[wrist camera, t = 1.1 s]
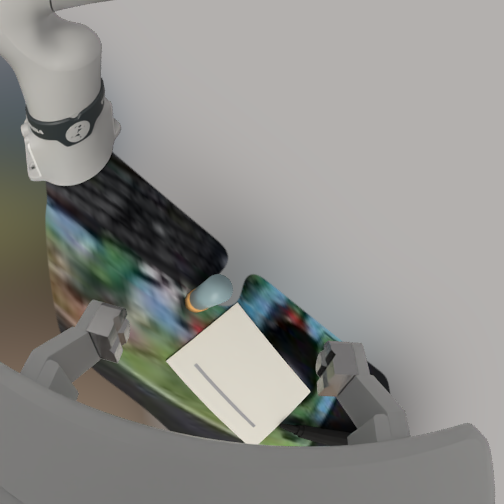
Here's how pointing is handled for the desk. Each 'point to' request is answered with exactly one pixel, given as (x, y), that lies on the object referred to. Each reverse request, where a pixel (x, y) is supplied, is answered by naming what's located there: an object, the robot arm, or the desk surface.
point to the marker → (209, 293)
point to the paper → (239, 376)
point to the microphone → (319, 434)
